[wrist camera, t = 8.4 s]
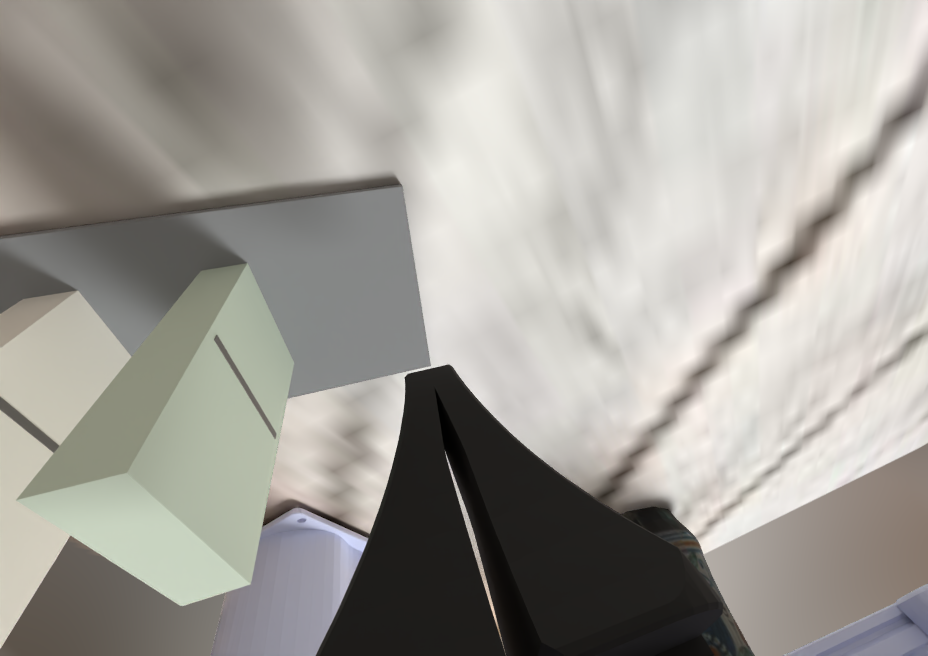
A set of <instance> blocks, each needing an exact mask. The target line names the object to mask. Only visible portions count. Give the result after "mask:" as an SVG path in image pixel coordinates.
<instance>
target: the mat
mask: <svg viewBox="0 0 928 656" xmlns="http://www.w3.org/2000/svg"><path fill="white" fill-rule="evenodd" d="M245 263H248V265H249V267H250V269H251V272H252V274H253V276H254V278H255V280H256V282H257V284H258V287H259V289H260V291H261V293H262V295H263V297H264V299H265V301H266V304H267V306H268V308H269V310H270V312H271V314H272V316H273V319H274V321H275V323H276V325H277V327H278V329H279V331H280V334H281V336H282V338H283V340H284V342H285V344H286V346H287V349H288V351H289V353H290V355H291V357H292V359H293V361H294V367H293V372H292V377H291V382H290V387H289V392H288V397H287V399H288V398H292V397H296V396H301V395H305V394H309V393H314V392H318V391H323V390H327V389H331V388H336V387H340V386H345V385H349V384H353V383H358V382H362V381H366V380H371V379H375V378H380V377H384V376H388V375H393V374H397V373H402V372H406V371H410V370H415V369H419V368H423V367H428V366H431V364H430V358H429V351H428V345H427V339H426V332H425V326H424V320H423V313H422V307H421V301H420V294H419V288H418V282H417V275H416V269H415V263H414V256H413V250H412V244H411V237H410V231H409V225H408V219H407V212H406V206H405V200H404V193H403V187H402V185H401V184H399V185H391V186H383V187H375V188H368V189H360V190H352V191H345V192H337V193H329V194H322V195H314V196H306V197H298V198H291V199H283V200H275V201H268V202H260V203H252V204H245V205H237V206H229V207H221V208H214V209H206V210H198V211H191V212H183V213H175V214H168V215H160V216H152V217H144V218H137V219H129V220H121V221H114V222H106V223H98V224H90V225H83V226H75V227H67V228H60V229H52V230H44V231H37V232H29V233H21V234H13V235H6V236H0V314H1V313H3V312H4V311H6V310H7V309H9V308H10V307H12V306H13V305H15V304H16V303H18V302H19V301H21V300H23V299H27V298H33V297H39V296H46V295H52V294H58V293H65V292H71V291H77V290H78V291H79V292H80V294H81V295H82V296H83V297H84V298H85V300H86V301H87V302H88V303H89V305H90V306H91V307H92V308H93V310H94V311H95V312H96V313H97V315H98V316H99V317H100V318H101V319H102V321H103V322H104V323H105V324H106V326H107V327H108V328H109V329H110V331H111V332H112V333H113V334H114V336H115V337H116V338H117V339H118V341H119V342H120V343H121V344H122V345H123V347H124V348H125V349H126V350H127V352H128V353H129V354H130V355H131V357H132V356H133V354H134V353H135V352H136V351H137V349H138V348H139V347H140V346H141V344H142V343H143V342H144V341H145V340H146V338H147V337H148V336H149V335H150V333H151V332H152V331H153V330H154V328H155V327H156V326H157V325H158V323H159V322H160V321H161V320H162V318H163V317H164V316H165V315H166V313H167V312H168V311H169V310H170V309H171V307H172V306H173V305H174V304H175V302H176V301H177V300H178V299H179V297H180V296H181V295H182V294H183V292H184V291H185V290H186V289H187V287H188V286H189V285H190V284H191V283H192V281H193V280H194V279H195V278H196V276H197V275H198V274H199V273H200V271H202V270H208V269H215V268H221V267H227V266H233V265H239V264H245Z"/></svg>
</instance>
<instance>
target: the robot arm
mask: <svg viewBox="0 0 928 656" xmlns="http://www.w3.org/2000/svg"><path fill="white" fill-rule="evenodd" d="M445 452H446V454H447V457H448V460H449V463H450V466H451V468H452V471H453V474H454V477H455V479H456V482H457V485H458V488H459V491H460V493H461V496H462V499H463V502H464V504H465V507H466V510H467V513H468V515H469V518H470V522H471V525H472V528H473V531H474V534H475V538H476V542H477V546H478V549H479V553H480V557H481V561H482V564H483V568H484V572H485V576H486V579H487V583H488V587H489V591H490V595H491V599H492V602H493V606H494V610H495V614H496V618H497V622H498V626H499V629H500V633H501V637H502V641H503V645H504V648H503V645H502V642H501V639H500V636H499V633H498V629H497V626H496V623H495V620H494V616H493V613H492V610H491V607H490V604H489V600H488V597H487V594H486V591H485V587H484V584H483V581H482V578H481V575H480V571H479V568H478V565H477V561H476V558H475V555H474V551H473V548H472V545H471V541H470V538H469V535H468V531H467V528H466V525H465V521H464V518H463V514H462V511H461V508H460V504H459V501H458V497H457V494H456V490H455V487H454V483H453V480H452V476H451V473H450V469H449V466H448V462H447V459H446V454H445ZM722 614H723V602H722V601H721V599H720V598H719V597H718V595H717V594H716V593H715V591H714V590H713V589H712V587H711V586H710V584H709V583H708V582H707V580H706V579H705V578H704V577H703V575H702V574H701V573H700V572H699V571H698V569H697V568H696V567H695V566H694V565H693V564H692V563H691V561H690V560H689V559H688V558H687V557H686V556H685V555H684V553H683V552H682V551H681V550H680V549H679V548H678V547H677V546H675V545H673V544H671V543H670V542H668V541H666V540H664V539H662V538H661V537H659V536H657V535H655V534H653V533H652V532H650V531H648V530H646V529H645V528H643V527H641V526H639V525H638V524H636V523H634V522H633V521H631V520H629V519H627V518H626V517H624V516H622V515H621V514H619V513H618V512H616V511H614V510H613V509H611V508H610V507H608V506H606V505H605V504H603V503H602V502H600V501H598V500H597V499H596V498H594V497H593V496H591V495H590V494H588V493H587V492H585V491H584V490H582V489H581V488H580V487H578V486H577V485H575V484H574V483H572V482H571V481H569V480H568V479H566V478H565V477H564V476H562V475H561V474H559V473H558V472H557V471H556V470H554V469H553V468H552V467H550V466H549V465H548V464H546V463H545V462H544V461H542V460H541V459H540V458H539V457H538V456H536V455H535V454H534V453H533V452H532V451H530V450H529V449H528V448H527V447H526V446H524V445H523V444H522V443H521V442H520V441H519V440H518V439H517V438H515V437H514V436H513V435H512V434H511V433H510V432H509V431H508V430H507V429H506V428H505V427H504V426H503V425H502V424H501V423H500V422H499V421H498V420H497V419H496V418H495V417H494V416H493V415H492V414H491V413H490V412H489V411H488V410H487V409H486V408H485V407H484V406H483V405H482V404H481V403H480V401H479V400H478V399H477V398H476V397H475V396H474V395H473V393H472V392H471V391H470V390H469V389H468V387H467V386H466V385H465V384H464V382H463V381H462V380H461V378H460V377H459V376H458V374H457V373H456V371H455V370H454V368H453V367H452V366H450V365H445V366H440V367H436V368H431V369H427V370H423V371H418V372H414V373H410V374H407V376H406V377H405V403H404V412H403V418H402V424H401V430H400V436H399V441H398V445H397V449H396V453H395V457H394V461H393V466H392V469H391V473H390V476H389V480H388V483H387V487H386V490H385V493H384V496H383V499H382V502H381V505H380V508H379V511H378V514H377V516H376V519H375V522H374V525H373V527H372V530H371V533H370V536H369V538H366V537H364V536H362V535H360V534H357V533H355V532H353V531H351V530H349V529H346V528H344V527H342V526H340V525H338V524H335V523H333V522H331V521H329V520H327V519H324V518H322V517H320V516H318V515H316V514H313V513H311V512H309V511H307V510H304V509H302V508H294V509H291V510H290V511H288V512H286V513H285V514H283V515H281V516H280V517H278V518H276V519H275V520H273V521H271V522H270V523H268V524H266V525H265V526H263V527H262V530H261V535H260V540H259V545H258V550H257V555H256V560H255V566H254V571H253V576H252V581H251V584H250V585H247V586H244V587H241V588H238V589H235V590H231V591H228V592H226V594H225V599H224V602H223V607H222V611H221V615H220V619H219V623H218V628H217V631H216V635H215V640H214V644H213V648H212V652H211V656H714V653H713V652H712V650H711V649H710V647H709V646H708V644H707V642H706V641H705V639H704V638H703V636H702V635H701V634H702V633H703V632H704V631H705V630H706V629H707V628H709V627H710V626H711V625H712V624H713V623H714V622H715V621H716V620H717V619H718V618H719V617H720V616H721V615H722ZM504 649H505V652H504ZM505 653H506V655H505ZM783 656H928V584H926V585H924V586H922V587H920V588H918V589H916V590H914V591H912V592H910V593H908V594H906V595H904V596H903V597H901V598H899V599H898V600H896V603H894V604H892V605H890V606H887V607H885V608H883V609H881V610H879V611H877V612H875V613H873V614H870V615H868V616H866V617H864V618H862V619H860V620H858V621H856V622H854V623H852V624H849V625H847V626H845V627H843V628H841V629H839V630H836V631H834V632H832V633H830V634H828V635H826V636H824V637H822V638H819V639H817V640H815V641H813V642H811V643H809V644H807V645H804V646H802V647H800V648H798V649H796V650H794V651H792V652H790V653H787V654H785V655H783Z"/></svg>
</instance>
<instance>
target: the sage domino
mask: <svg viewBox="0 0 928 656" xmlns="http://www.w3.org/2000/svg"><path fill="white" fill-rule="evenodd" d="M293 367H294V361H293V359H292V357H291V355H290V353H289V351H288V349H287V346H286V344H285V342H284V340H283V338H282V336H281V334H280V331H279V329H278V327H277V325H276V323H275V321H274V319H273V316H272V314H271V312H270V310H269V308H268V306H267V304H266V301H265V299H264V297H263V295H262V293H261V291H260V289H259V287H258V284H257V282H256V280H255V278H254V276H253V274H252V272H251V269H250V267H249V265H248V263H245V264H239V265H233V266H227V267H221V268H215V269H208V270H202V271H200V273H199V274H198V275H197V276H196V278H195V279H194V280H193V281H192V283H191V284H190V285H189V286H188V287H187V289H186V290H185V291H184V292H183V294H182V295H181V296H180V297H179V299H178V300H177V301H176V302H175V304H174V305H173V306H172V307H171V309H170V310H169V311H168V312H167V313H166V315H165V316H164V317H163V318H162V320H161V321H160V322H159V323H158V325H157V326H156V327H155V328H154V330H153V331H152V332H151V333H150V335H149V336H148V337H147V338H146V340H145V341H144V342H143V343H142V344H141V346H140V347H139V348H138V349H137V351H136V352H135V353H134V354H133V356H132V357H131V358H130V359H129V361H128V362H127V363H126V364H125V366H124V367H123V368H122V369H121V370H120V372H119V373H118V374H117V375H116V377H115V378H114V379H113V380H112V382H111V383H110V384H109V385H108V387H107V388H106V389H105V390H104V392H103V393H102V394H101V395H100V397H99V398H98V399H97V400H96V401H95V403H94V404H93V405H92V406H91V408H90V409H89V410H88V411H87V413H86V414H85V415H84V416H83V418H82V419H81V420H80V421H79V423H78V424H77V425H76V426H75V427H74V429H73V430H72V431H71V432H70V434H69V435H68V436H67V437H66V439H65V440H64V441H63V442H62V444H61V445H60V446H59V447H58V449H57V450H56V451H55V452H54V454H53V455H52V456H51V457H50V458H49V460H48V461H47V462H46V463H45V465H44V466H43V467H42V468H41V470H40V471H39V472H38V473H37V475H36V476H35V477H34V478H33V480H32V481H31V482H30V483H29V484H28V486H27V487H26V488H25V489H24V491H23V492H22V493H21V494H20V496H19V497H18V498H17V499H16V501H18V502H19V503H21V504H22V505H24V506H25V507H27V508H28V509H30V510H32V511H33V512H35V513H36V514H38V515H39V516H41V517H43V518H44V519H46V520H47V521H49V522H50V523H52V524H53V525H55V526H57V527H58V528H60V529H61V530H63V531H64V532H66V533H68V534H69V535H71V536H72V537H74V538H75V539H77V540H78V541H80V542H82V543H83V544H85V545H86V546H88V547H89V548H91V549H93V550H94V551H96V552H97V553H99V554H100V555H102V556H103V557H105V558H107V559H108V560H110V561H111V562H113V563H115V564H116V565H118V566H119V567H121V568H122V569H124V570H125V571H127V572H129V573H130V574H132V575H133V576H135V577H136V578H138V579H139V580H141V581H143V582H144V583H146V584H147V585H149V586H151V587H152V588H153V589H155V590H157V591H158V592H160V593H161V594H163V595H165V596H166V597H168V598H169V599H171V600H172V601H174V602H176V603H177V604H179V605H180V606H184V605H187V604H190V603H194V602H197V601H200V600H203V599H206V598H209V597H212V596H216V595H219V594H222V593H225V592H228V591H231V590H235V589H238V588H241V587H244V586H247V585H250V584H251V581H252V576H253V571H254V566H255V560H256V555H257V550H258V545H259V540H260V535H261V530H262V525H263V520H264V515H265V510H266V504H267V499H268V494H269V489H270V484H271V479H272V474H273V469H274V464H275V459H276V453H277V448H278V443H279V438H280V433H281V428H282V423H283V418H284V413H285V408H286V402H287V397H288V392H289V387H290V382H291V377H292V372H293Z"/></svg>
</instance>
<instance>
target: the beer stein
mask: <svg viewBox="0 0 928 656" xmlns="http://www.w3.org/2000/svg"><path fill="white" fill-rule="evenodd" d="M622 516H624V517H626V518H627V519H629V520H631V521H633V522H634V523H636V524H638V525H639V526H641V527H643V528H645V529H646V530H648V531H650V532H652V533H653V534H655V535H657V536H659V537H661V538H662V539H664V540H666V541H668V542H670V543H671V544H673V545H675V546H677V547H678V548H679V549H680V550H681V551H682V552H683V553H684V555H685V556H686V557H687V558H688V559H689V560H690V561H691V563H692V564H693V565H694V566H695V567H696V568H697V569H698V571H699V572H700V573H701V574H702V575H703V577H704V578H705V579H706V580H707V582H708V583H709V584H710V586H711V587H712V589H713V590H714V591H715V593H716V594H717V595H718V597H719V598H720V599H721V601H722V602H723V614H722V615H721V616H720V617H719V618H718V619H717V620H716V621H715V622H714V623H713V624H712V625H711V626H710V627H709V628H707V629H706V630H705V631H704V632H703V633H702V634H701V635H702V636H703V638H704V639H705V641H706V642H707V644H708V646H709V647H710V649H711V650H712V652H713V653H714V656H755V655H754V654H753V652H752V651H751V649H750V647H749V646H748V644H747V642H746V640H745V638H744V636H743V634H742V632H741V631H740V629H739V627H738V625H737V623H736V622H735V620H734V619H733V616H732V615H731V613H730V611H729V609H728V607H727V605H726V603H725V601H724V599H723V597H722V595H721V593H720V591H719V589H718V587H717V585H716V583H715V581H714V579H713V577H712V575H711V572H710V570H709V567H708V565H707V563H706V560H705V558H704V556H703V552H702V549H701V546H700V544H699V542H698V540H697V539H696V537H695V536H694V535H693V534H692V533H691V532H690V531H689V530H688V529H687V528H686V527H685V526H683V525H682V524H681V523H680V522H679V521H678V520H677V519H676V518H675V517H674V515H673V514H672V513H671V512H670V511H669V510H668V509H663V508H658V507H650V508H645V509H640V510H634V511H629V512H626V513H624V514H622Z"/></svg>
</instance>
